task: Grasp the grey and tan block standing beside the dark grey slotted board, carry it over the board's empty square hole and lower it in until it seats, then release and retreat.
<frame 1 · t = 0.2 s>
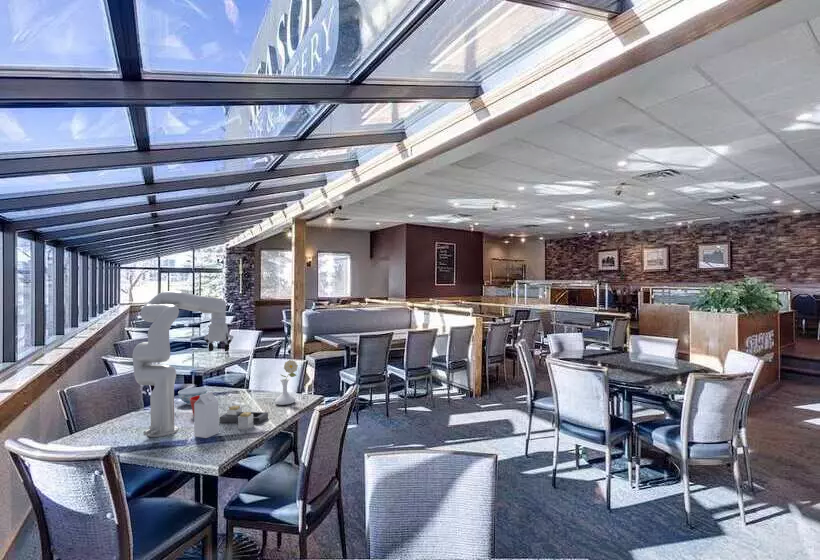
hand: (218, 351, 241), 31 cm above the table, fingers open, 9 cm apart
milk carton: (206, 435, 192), on the table
flower in vase: (286, 404, 242), on the table
grey and tan block: (245, 427, 201), on the table
tan topped grey block: (234, 420, 213), resting in dark grey slotted board
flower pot: (201, 415, 222), on the table
chinaware: (192, 403, 245), on the table
dark grey slotted board: (244, 420, 212), on the table
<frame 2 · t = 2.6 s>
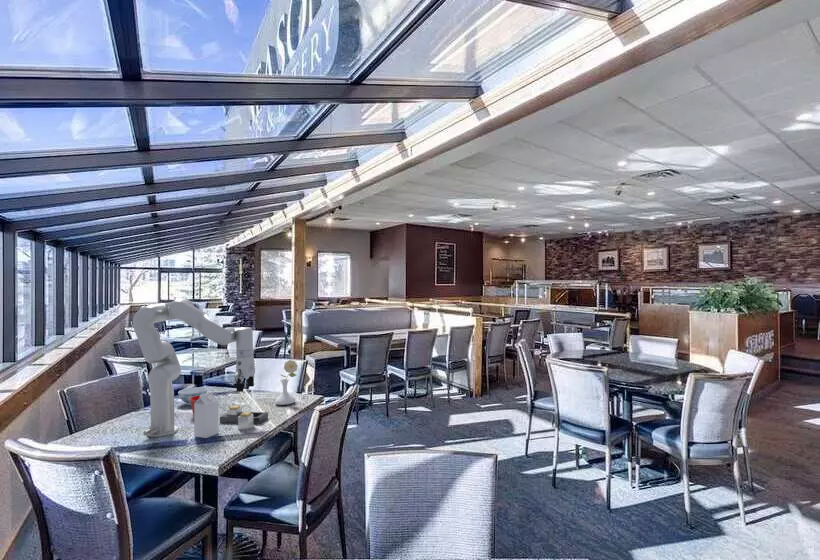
hand: (245, 388, 202), 19 cm above the table, fingers open, 9 cm apart
nothing on the table moved.
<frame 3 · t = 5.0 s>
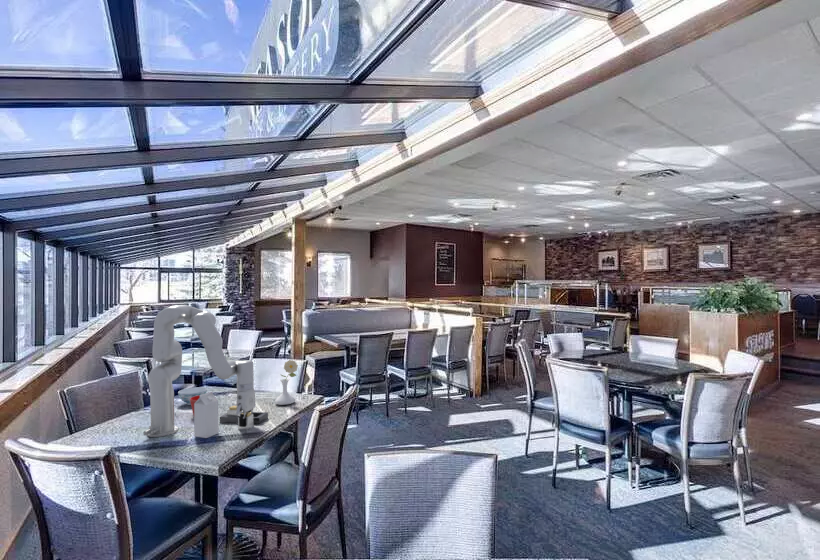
hand: (245, 424, 201), 2 cm above the table, fingers closed on grey and tan block, 5 cm apart
grey and tan block: (245, 427, 201), on the table, touching gripper
everything else where it was.
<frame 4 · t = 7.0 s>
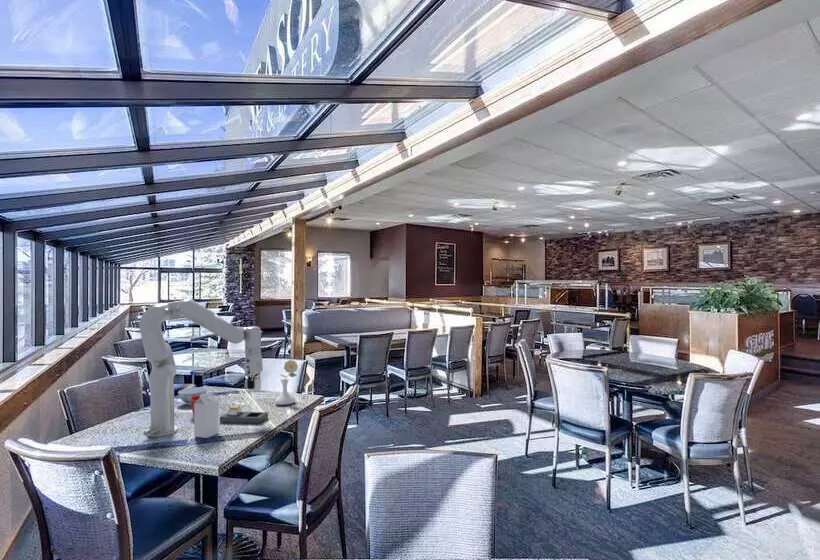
hand: (253, 386, 211), 17 cm above the table, fingers closed on grey and tan block, 5 cm apart
grey and tan block: (253, 390, 211), point 15 cm above the table, touching gripper
everything else where it was.
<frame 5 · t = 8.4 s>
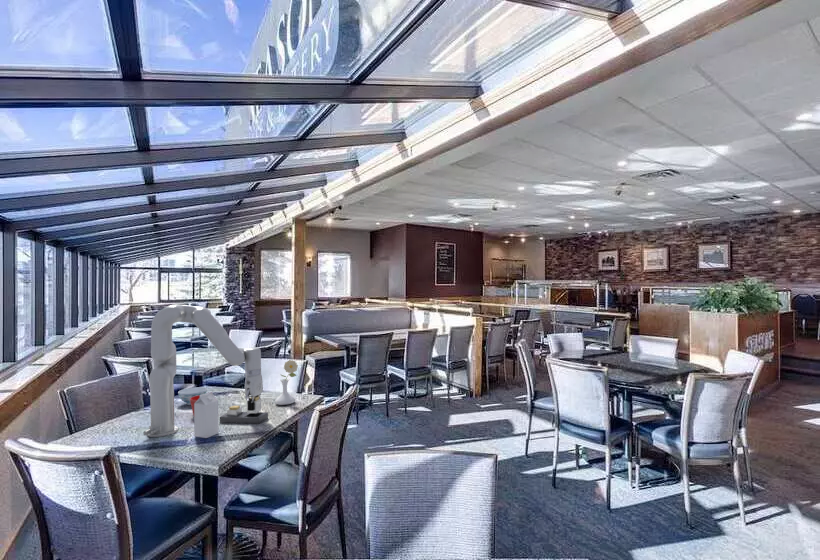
hand: (253, 408, 211), 6 cm above the table, fingers closed on grey and tan block, 5 cm apart
grey and tan block: (254, 411, 211), point 5 cm above the table, touching gripper
everything else where it was.
when the fingers open (4 cm above the table, at t = 9.2 s): grey and tan block drops 2 cm, resting in dark grey slotted board.
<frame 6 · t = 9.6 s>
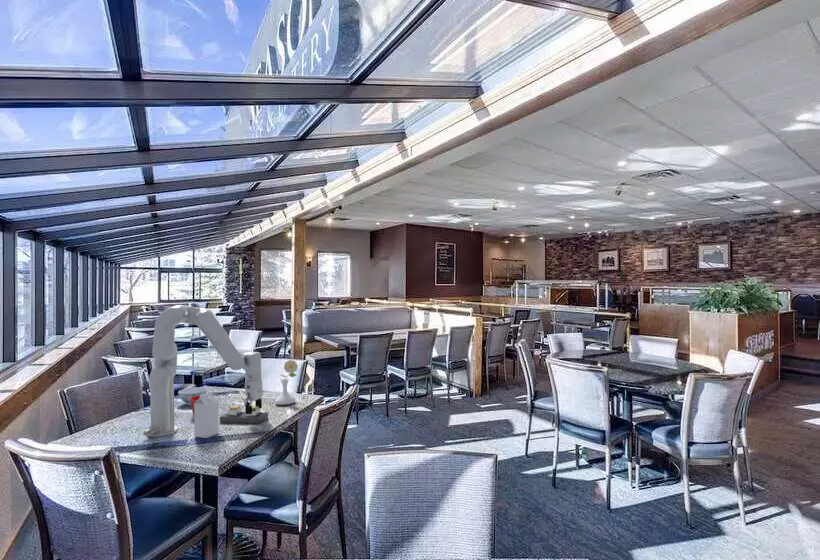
hand: (253, 410, 211), 5 cm above the table, fingers open, 9 cm apart
grey and tan block: (253, 421, 211), resting in dark grey slotted board
everything else where it was.
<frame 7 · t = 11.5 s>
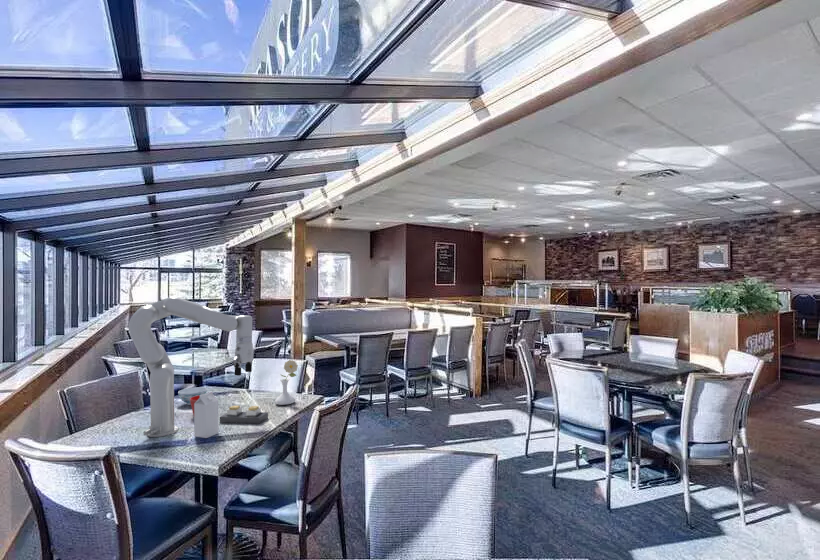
hand: (243, 373, 213), 23 cm above the table, fingers open, 9 cm apart
nothing on the table moved.
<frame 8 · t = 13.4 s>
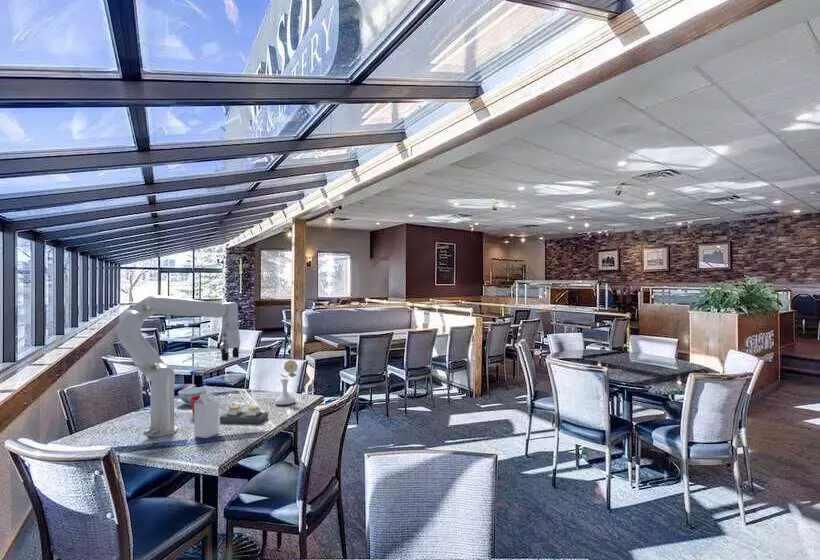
hand: (230, 359, 218), 30 cm above the table, fingers open, 9 cm apart
nothing on the table moved.
at the end: grey and tan block 0.1 cm from the target spot on the dark grey slotted board, point 0.0 cm above the dark grey slotted board's base; grey and tan block tilted 0°; the gripper is holding nothing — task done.
